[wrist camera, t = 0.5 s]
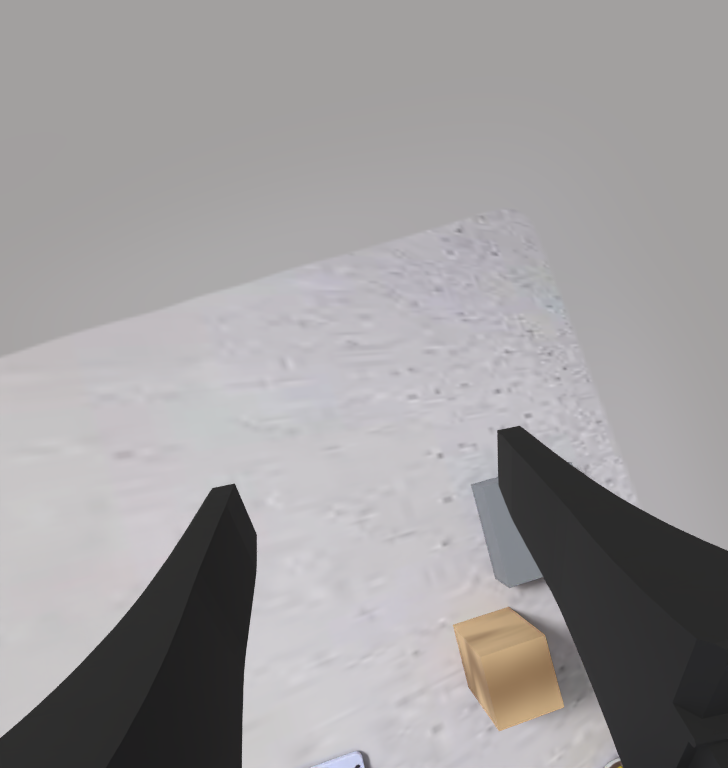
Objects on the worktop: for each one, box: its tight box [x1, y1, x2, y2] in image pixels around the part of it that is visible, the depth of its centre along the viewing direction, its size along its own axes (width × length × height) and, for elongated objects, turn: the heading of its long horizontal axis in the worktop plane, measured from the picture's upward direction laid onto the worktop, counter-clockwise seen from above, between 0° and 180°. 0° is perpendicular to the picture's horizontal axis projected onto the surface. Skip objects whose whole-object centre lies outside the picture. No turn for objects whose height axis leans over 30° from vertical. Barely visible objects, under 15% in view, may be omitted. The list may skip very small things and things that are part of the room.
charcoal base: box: [471, 462, 573, 588], centre depth 40 cm, size 8×8×3 cm
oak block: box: [453, 607, 564, 731], centre depth 36 cm, size 5×5×6 cm
